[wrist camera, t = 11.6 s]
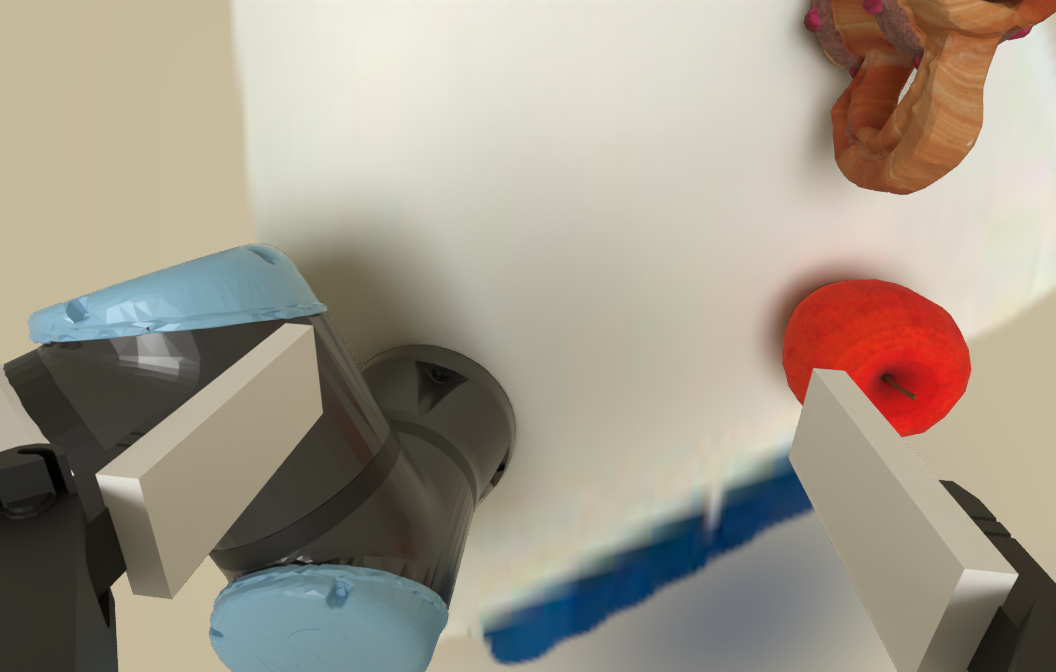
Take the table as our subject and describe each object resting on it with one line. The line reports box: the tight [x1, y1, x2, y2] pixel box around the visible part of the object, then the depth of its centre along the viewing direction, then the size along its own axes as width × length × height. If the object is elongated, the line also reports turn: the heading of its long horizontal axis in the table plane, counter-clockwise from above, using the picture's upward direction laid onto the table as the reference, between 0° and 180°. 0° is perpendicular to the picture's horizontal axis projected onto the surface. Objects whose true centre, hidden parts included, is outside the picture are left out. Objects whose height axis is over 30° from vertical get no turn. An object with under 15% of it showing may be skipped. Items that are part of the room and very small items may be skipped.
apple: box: [783, 279, 971, 437], centre depth 38 cm, size 10×10×12 cm
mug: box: [804, 0, 1056, 195], centre depth 29 cm, size 15×8×15 cm, turn 170°
